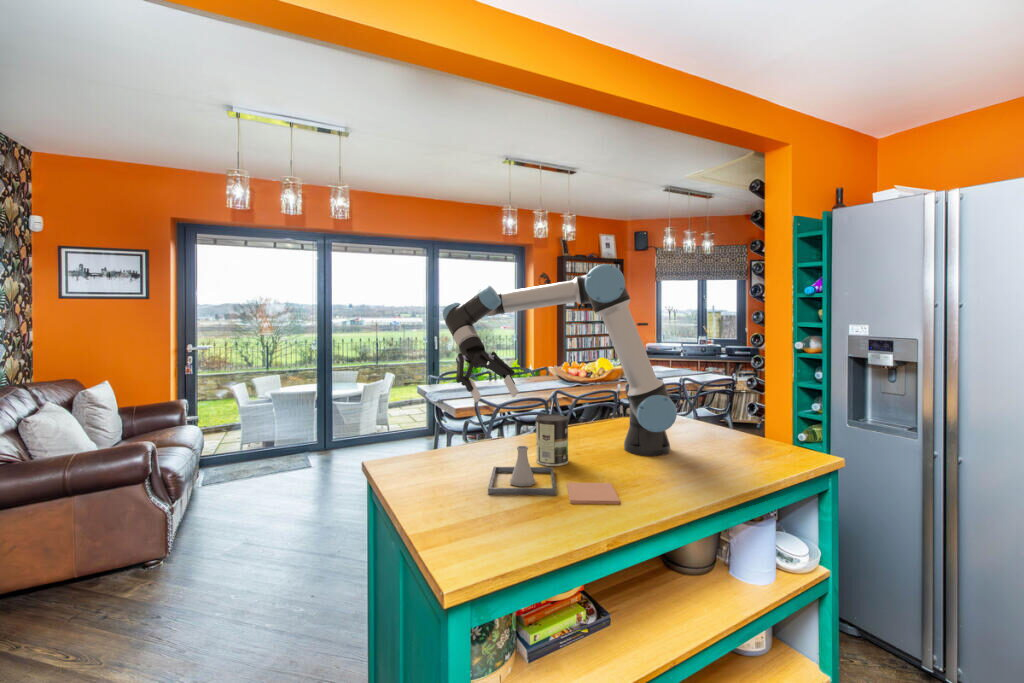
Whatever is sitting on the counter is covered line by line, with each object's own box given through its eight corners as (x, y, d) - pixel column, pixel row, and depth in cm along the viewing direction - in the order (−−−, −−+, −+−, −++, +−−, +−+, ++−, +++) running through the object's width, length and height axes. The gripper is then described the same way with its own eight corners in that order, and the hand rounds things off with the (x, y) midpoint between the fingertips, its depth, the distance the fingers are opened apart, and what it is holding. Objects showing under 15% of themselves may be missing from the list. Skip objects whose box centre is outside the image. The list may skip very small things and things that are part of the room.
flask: (538, 479, 128) (538, 444, 128) (532, 488, 122) (532, 451, 121) (513, 477, 130) (513, 442, 130) (506, 486, 123) (506, 449, 123)
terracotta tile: (611, 485, 123) (611, 482, 123) (619, 503, 111) (619, 500, 111) (566, 485, 123) (566, 482, 123) (570, 503, 112) (570, 500, 111)
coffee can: (566, 456, 150) (566, 413, 149) (570, 466, 139) (570, 421, 139) (535, 456, 150) (535, 414, 149) (536, 466, 140) (536, 421, 139)
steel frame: (553, 472, 134) (553, 467, 134) (556, 495, 117) (556, 489, 117) (493, 471, 135) (493, 466, 135) (488, 494, 118) (487, 488, 118)
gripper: (495, 349, 154) (524, 399, 143) (430, 353, 139) (456, 409, 128) (505, 334, 150) (535, 385, 139) (438, 336, 134) (466, 393, 123)
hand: (497, 397), depth 133 cm, fingers open, 13 cm apart
